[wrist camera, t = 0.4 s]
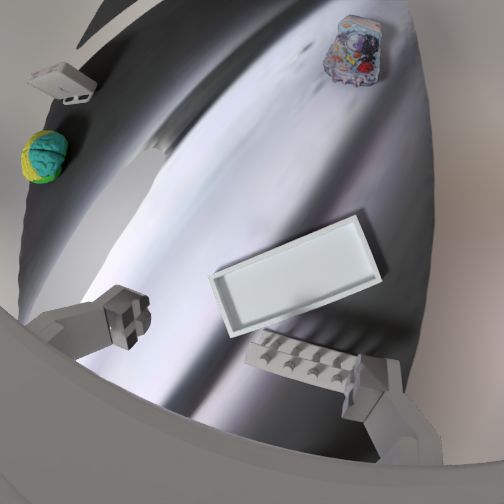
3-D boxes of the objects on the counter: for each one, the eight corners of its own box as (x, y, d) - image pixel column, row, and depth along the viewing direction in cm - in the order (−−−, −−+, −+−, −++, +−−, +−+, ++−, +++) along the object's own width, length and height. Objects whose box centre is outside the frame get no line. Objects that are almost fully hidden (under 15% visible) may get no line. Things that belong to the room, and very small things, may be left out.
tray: (380, 280, 56) (382, 281, 53) (234, 335, 63) (230, 338, 61) (354, 216, 58) (355, 214, 55) (212, 275, 65) (207, 276, 63)
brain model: (83, 132, 80) (50, 117, 66) (68, 187, 80) (32, 177, 66) (50, 138, 87) (21, 127, 73) (37, 186, 87) (6, 178, 73)
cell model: (386, 16, 46) (380, 74, 47) (382, 42, 56) (375, 99, 58) (332, 6, 49) (318, 61, 51) (334, 32, 60) (321, 87, 61)
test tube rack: (375, 360, 55) (384, 383, 42) (368, 378, 55) (375, 405, 43) (263, 329, 62) (245, 344, 49) (258, 347, 62) (239, 366, 49)
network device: (58, 106, 87) (22, 88, 68) (66, 87, 87) (33, 67, 67) (95, 101, 80) (55, 77, 61) (105, 80, 80) (68, 54, 61)
